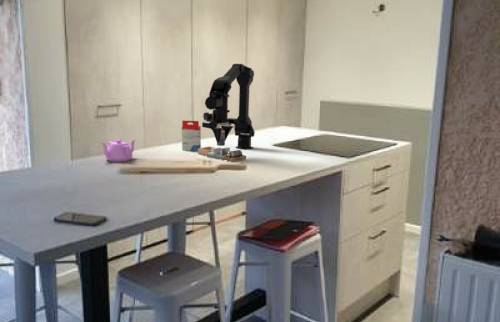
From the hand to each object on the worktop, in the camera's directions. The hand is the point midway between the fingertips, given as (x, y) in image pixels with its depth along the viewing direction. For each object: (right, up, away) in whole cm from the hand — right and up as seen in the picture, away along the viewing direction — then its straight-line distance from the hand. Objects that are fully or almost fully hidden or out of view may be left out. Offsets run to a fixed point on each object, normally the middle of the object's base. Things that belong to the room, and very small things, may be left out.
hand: (220, 141), depth 243 cm
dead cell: (0, -1, 0) cm, 2 cm away
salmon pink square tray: (-6, -6, +6) cm, 10 cm away
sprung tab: (+2, -6, -1) cm, 6 cm away
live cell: (+6, -8, -4) cm, 11 cm away
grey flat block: (0, -7, +1) cm, 7 cm away
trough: (+6, -8, -4) cm, 11 cm away
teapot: (-44, -8, -10) cm, 46 cm away
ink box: (-15, -4, +16) cm, 23 cm away
